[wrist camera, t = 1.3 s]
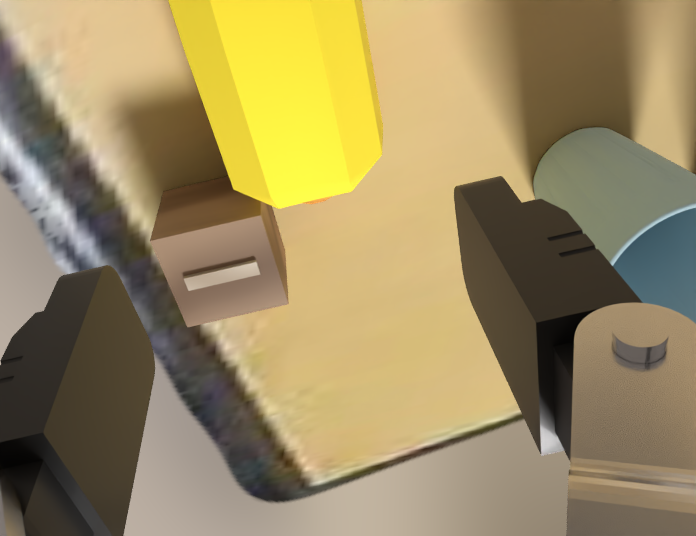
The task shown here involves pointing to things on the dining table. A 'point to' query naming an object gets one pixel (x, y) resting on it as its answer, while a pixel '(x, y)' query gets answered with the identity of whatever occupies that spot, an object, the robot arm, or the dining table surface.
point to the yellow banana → (285, 93)
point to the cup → (628, 211)
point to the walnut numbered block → (219, 252)
